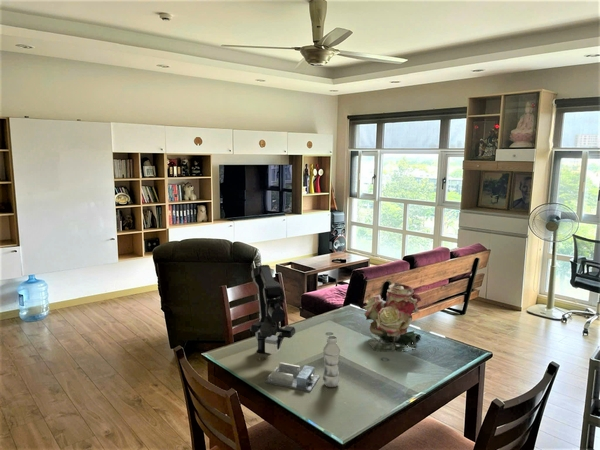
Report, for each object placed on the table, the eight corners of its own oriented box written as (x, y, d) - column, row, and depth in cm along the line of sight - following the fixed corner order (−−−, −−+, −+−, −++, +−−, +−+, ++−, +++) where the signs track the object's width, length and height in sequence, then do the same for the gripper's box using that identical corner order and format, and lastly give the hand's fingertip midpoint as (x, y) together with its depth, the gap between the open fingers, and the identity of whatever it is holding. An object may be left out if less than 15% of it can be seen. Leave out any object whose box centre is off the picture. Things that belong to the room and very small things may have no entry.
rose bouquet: (362, 329, 228) (364, 274, 223) (420, 334, 222) (423, 277, 217) (359, 351, 203) (361, 289, 198) (424, 357, 198) (428, 294, 193)
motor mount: (265, 382, 175) (265, 372, 174) (277, 368, 186) (277, 358, 185) (310, 392, 169) (310, 381, 168) (319, 377, 180) (319, 366, 179)
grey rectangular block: (265, 352, 186) (264, 339, 185) (269, 347, 191) (269, 334, 190) (275, 354, 185) (275, 341, 184) (280, 349, 189) (280, 336, 188)
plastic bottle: (334, 391, 169) (335, 342, 166) (319, 386, 173) (320, 338, 170) (342, 383, 175) (343, 336, 172) (327, 379, 178) (328, 332, 175)
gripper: (244, 317, 181) (244, 352, 183) (285, 323, 174) (285, 360, 177) (256, 308, 191) (256, 341, 194) (295, 314, 185) (295, 348, 187)
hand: (272, 348), depth 188 cm, fingers closed on grey rectangular block, 5 cm apart
